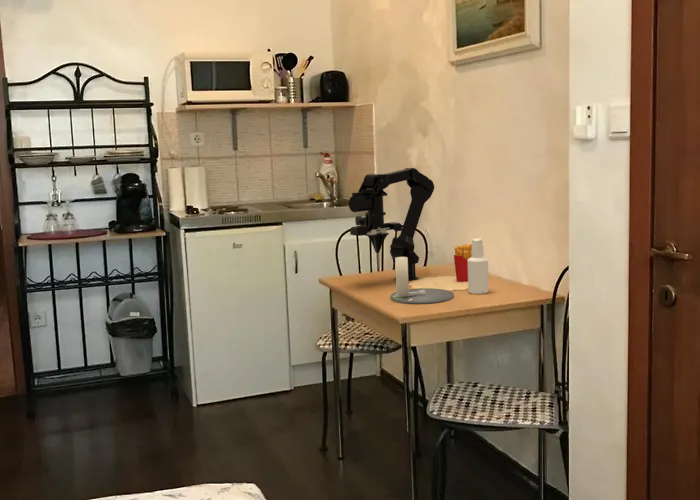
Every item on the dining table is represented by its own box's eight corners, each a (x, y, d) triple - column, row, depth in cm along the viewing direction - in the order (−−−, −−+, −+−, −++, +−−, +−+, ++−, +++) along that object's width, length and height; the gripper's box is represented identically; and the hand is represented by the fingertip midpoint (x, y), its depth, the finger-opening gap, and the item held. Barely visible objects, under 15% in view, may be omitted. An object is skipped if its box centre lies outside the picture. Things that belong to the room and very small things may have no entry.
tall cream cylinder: (414, 292, 259) (412, 255, 257) (419, 295, 256) (418, 256, 254) (393, 295, 257) (391, 257, 255) (398, 297, 253) (397, 259, 251)
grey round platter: (429, 288, 273) (429, 281, 272) (466, 297, 254) (466, 290, 254) (378, 296, 262) (378, 290, 262) (413, 307, 244) (413, 300, 244)
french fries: (458, 282, 280) (457, 246, 278) (452, 280, 284) (451, 245, 282) (480, 279, 283) (480, 244, 281) (474, 277, 287) (473, 242, 285)
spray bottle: (490, 290, 264) (489, 237, 261) (487, 294, 258) (485, 240, 255) (470, 289, 266) (468, 237, 264) (466, 294, 260) (465, 240, 257)
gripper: (385, 205, 289) (387, 247, 291) (341, 210, 280) (343, 253, 282) (402, 207, 279) (403, 250, 281) (357, 212, 270) (359, 256, 272)
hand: (377, 252), depth 279 cm, fingers closed
